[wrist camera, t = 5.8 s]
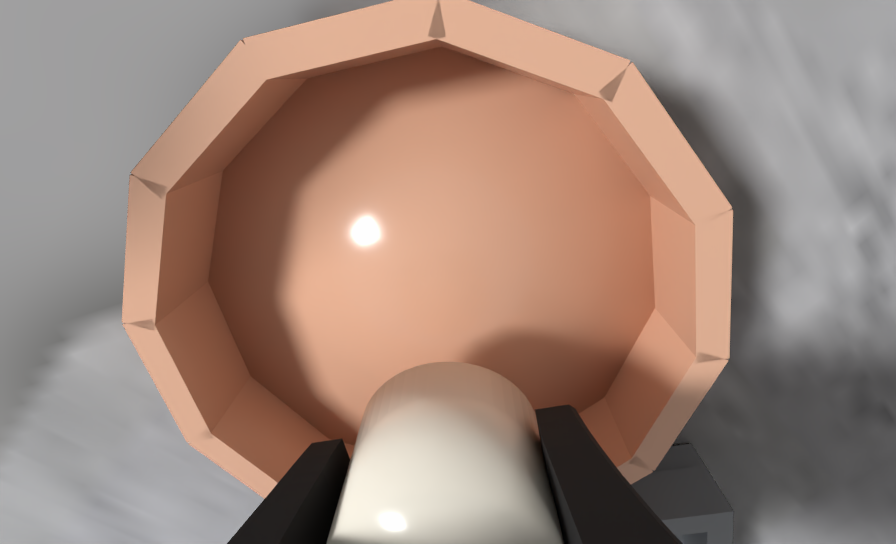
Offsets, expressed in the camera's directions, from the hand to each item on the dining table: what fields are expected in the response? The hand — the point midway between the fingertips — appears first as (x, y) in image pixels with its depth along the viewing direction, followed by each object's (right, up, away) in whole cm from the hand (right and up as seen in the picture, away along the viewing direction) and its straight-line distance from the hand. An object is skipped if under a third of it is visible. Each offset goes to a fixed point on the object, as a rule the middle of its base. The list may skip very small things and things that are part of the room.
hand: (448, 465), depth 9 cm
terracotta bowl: (0, +3, +3) cm, 4 cm away
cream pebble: (0, 0, +1) cm, 1 cm away
